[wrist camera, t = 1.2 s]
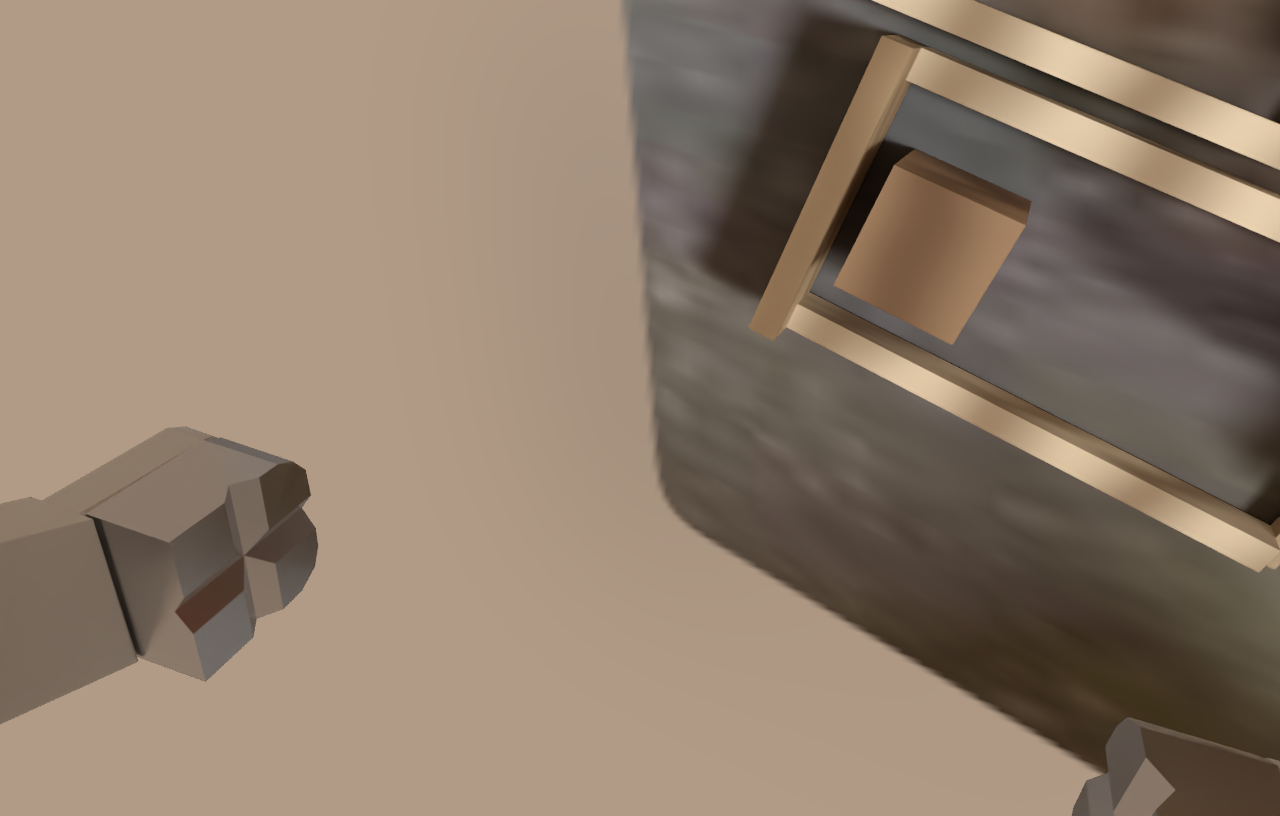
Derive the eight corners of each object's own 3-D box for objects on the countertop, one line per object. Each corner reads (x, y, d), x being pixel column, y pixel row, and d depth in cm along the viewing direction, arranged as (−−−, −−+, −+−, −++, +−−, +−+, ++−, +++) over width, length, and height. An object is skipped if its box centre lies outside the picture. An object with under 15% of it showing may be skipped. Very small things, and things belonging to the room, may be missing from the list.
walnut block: (1031, 200, 33) (1026, 225, 29) (965, 308, 36) (952, 345, 32) (915, 148, 35) (894, 164, 30) (859, 256, 37) (833, 285, 33)
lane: (1675, 361, 27) (1810, 436, 22) (1381, 614, 34) (1435, 716, 29) (900, 35, 33) (870, 36, 28) (775, 302, 39) (732, 342, 34)
